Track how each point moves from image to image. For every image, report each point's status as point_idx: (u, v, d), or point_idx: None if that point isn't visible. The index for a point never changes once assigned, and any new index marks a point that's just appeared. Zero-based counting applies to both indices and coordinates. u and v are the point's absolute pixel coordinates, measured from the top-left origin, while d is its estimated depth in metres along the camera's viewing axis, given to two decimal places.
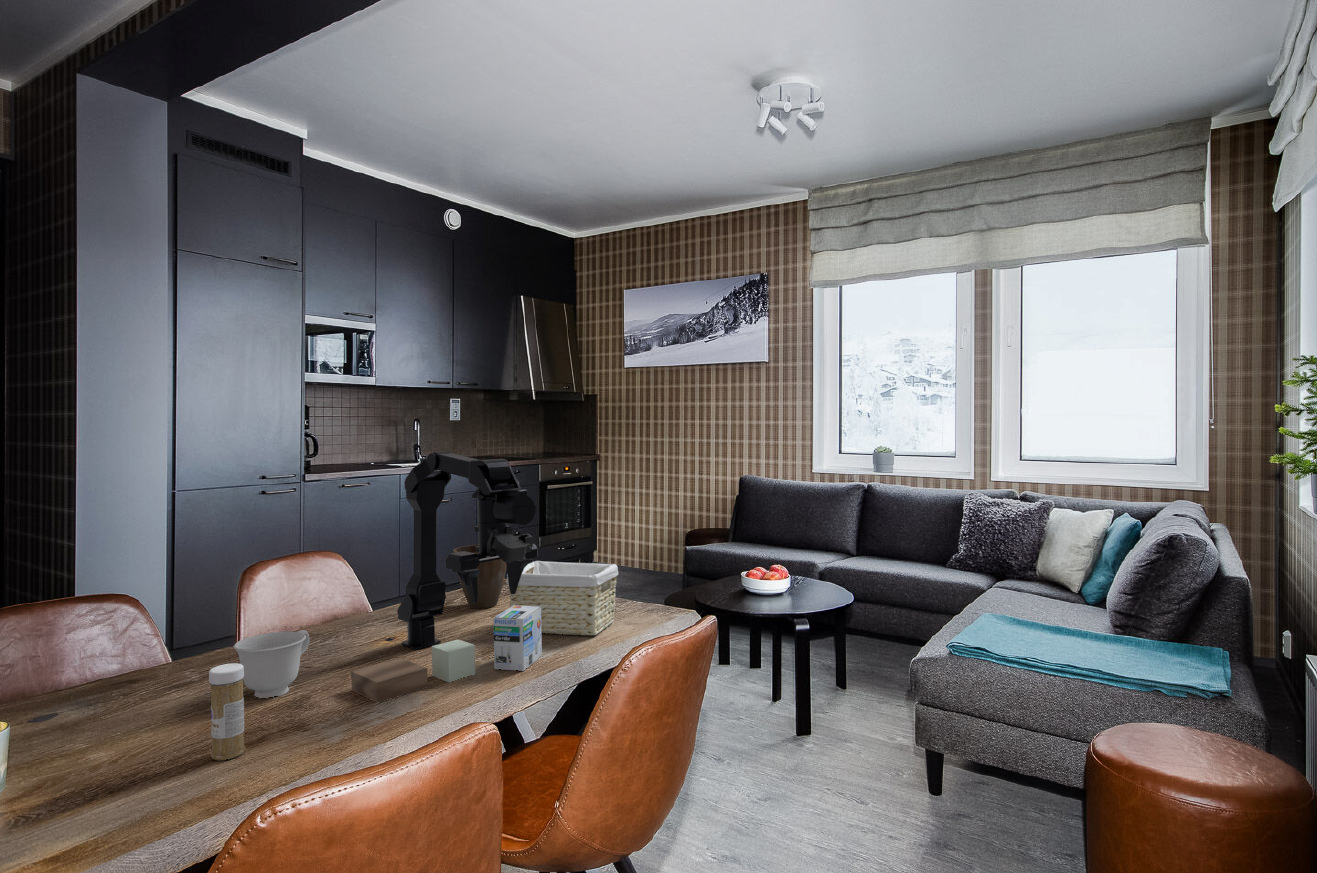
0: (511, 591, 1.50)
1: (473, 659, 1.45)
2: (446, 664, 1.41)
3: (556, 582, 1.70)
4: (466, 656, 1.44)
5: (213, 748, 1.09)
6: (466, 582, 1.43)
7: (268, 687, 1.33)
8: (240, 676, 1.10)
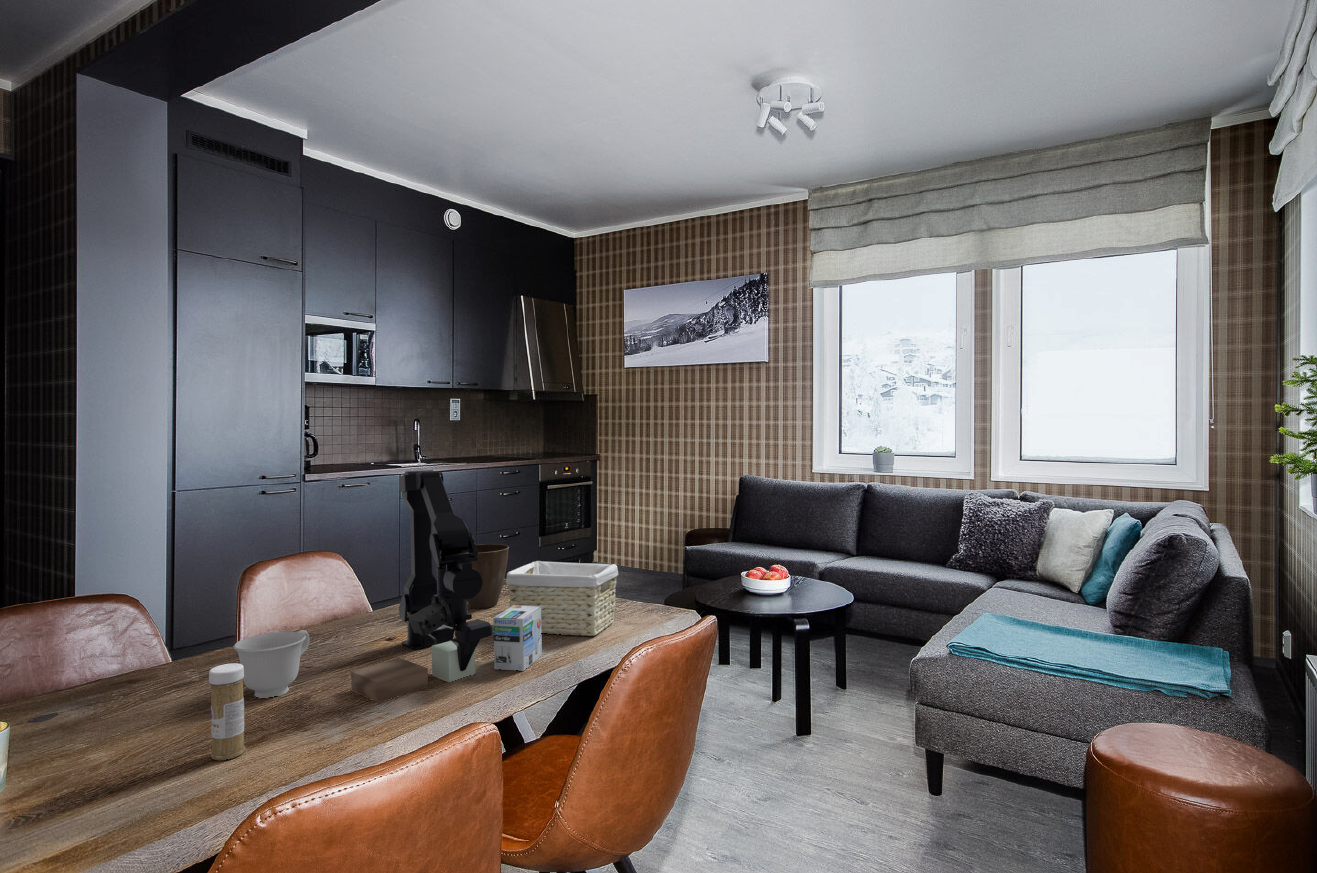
0: None
1: (473, 658, 1.45)
2: (446, 664, 1.41)
3: (556, 582, 1.70)
4: None
5: (213, 748, 1.09)
6: None
7: (268, 687, 1.33)
8: (240, 676, 1.10)
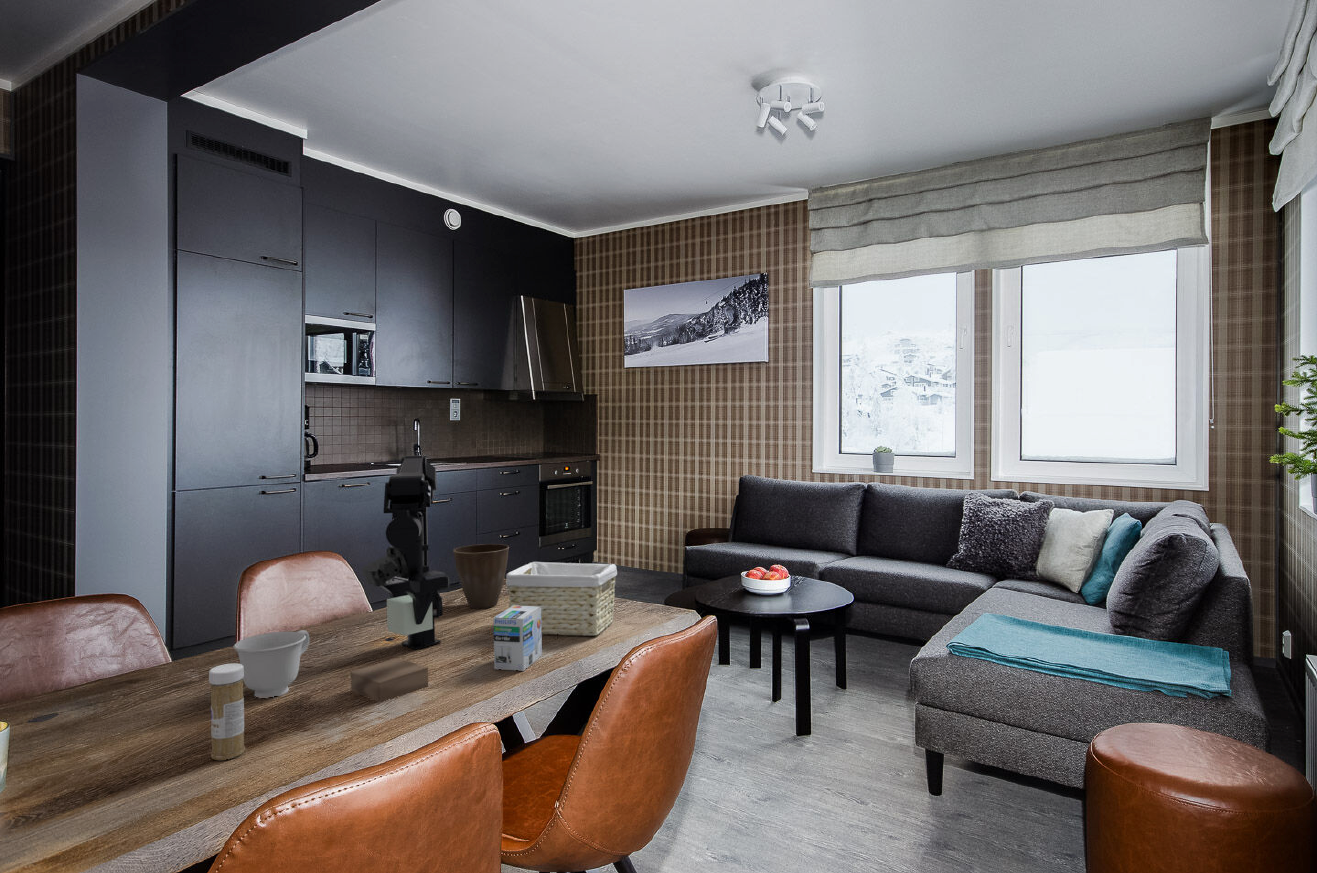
0: None
1: (430, 612, 1.40)
2: (401, 616, 1.36)
3: (557, 582, 1.69)
4: None
5: (213, 748, 1.09)
6: None
7: (268, 687, 1.33)
8: (240, 676, 1.10)
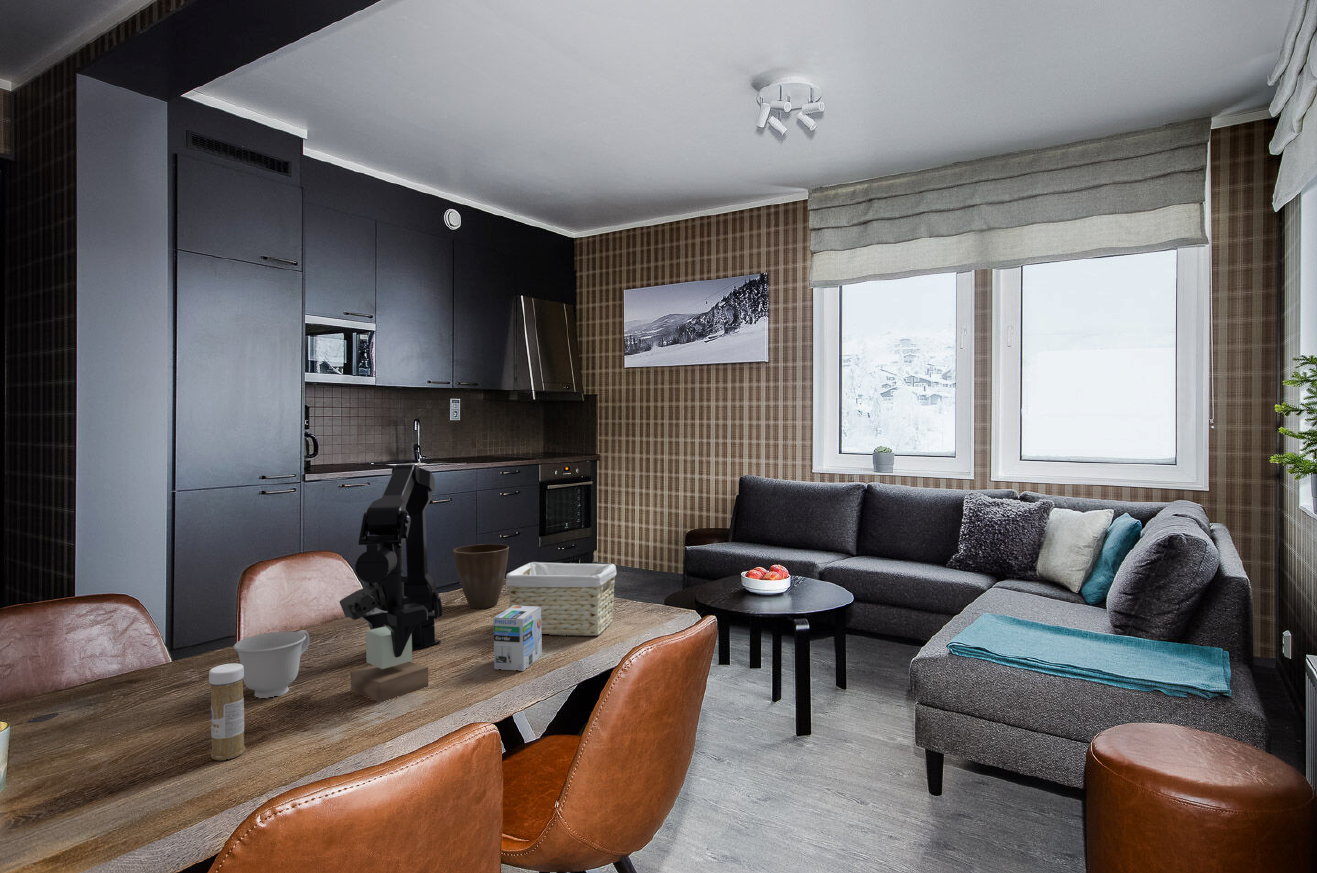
0: None
1: (409, 644, 1.38)
2: (379, 649, 1.34)
3: (558, 583, 1.69)
4: None
5: (213, 748, 1.09)
6: None
7: (268, 687, 1.33)
8: (240, 676, 1.10)
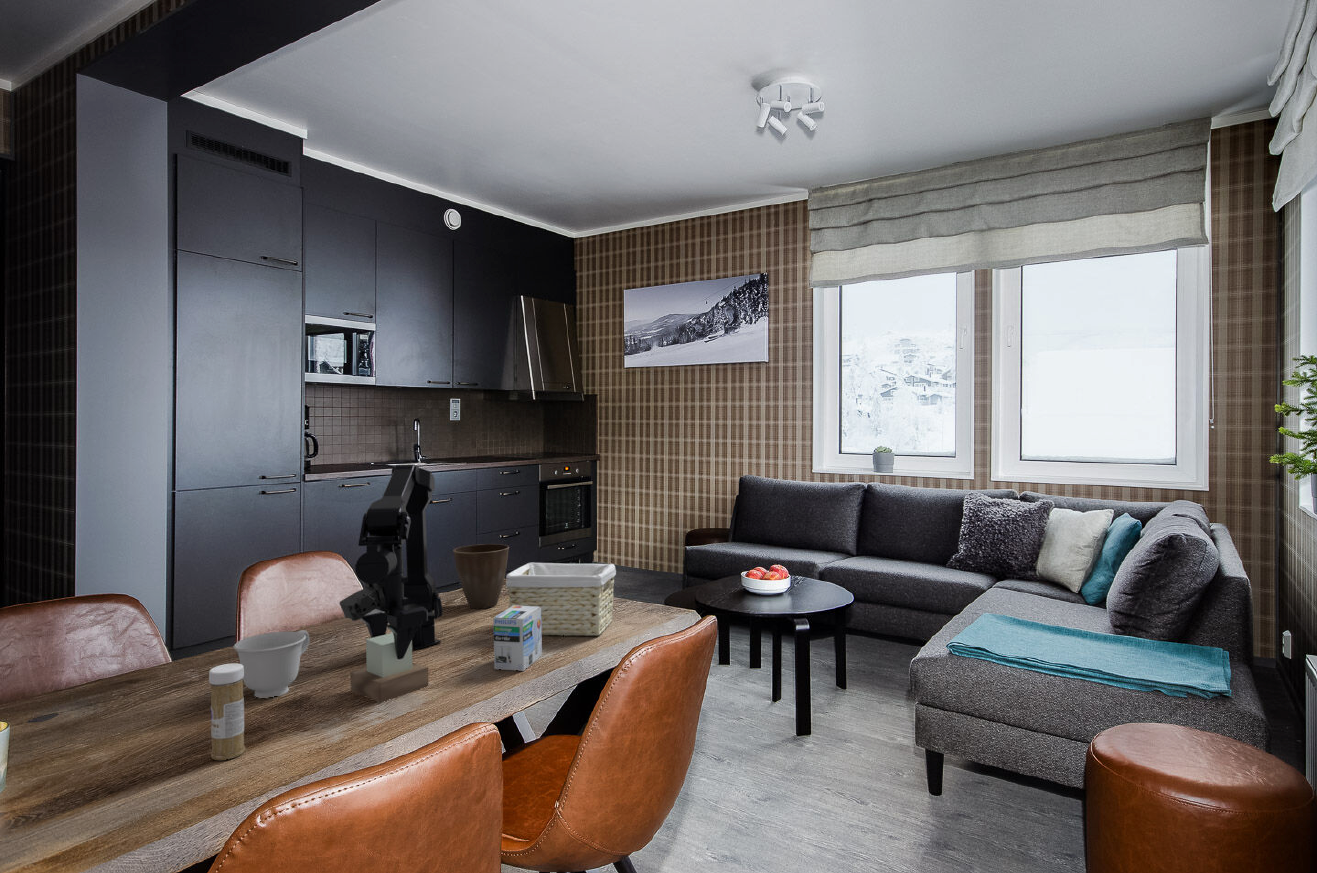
0: None
1: (410, 653, 1.38)
2: (380, 658, 1.34)
3: (559, 583, 1.69)
4: None
5: (213, 748, 1.09)
6: None
7: (268, 687, 1.33)
8: (240, 676, 1.10)
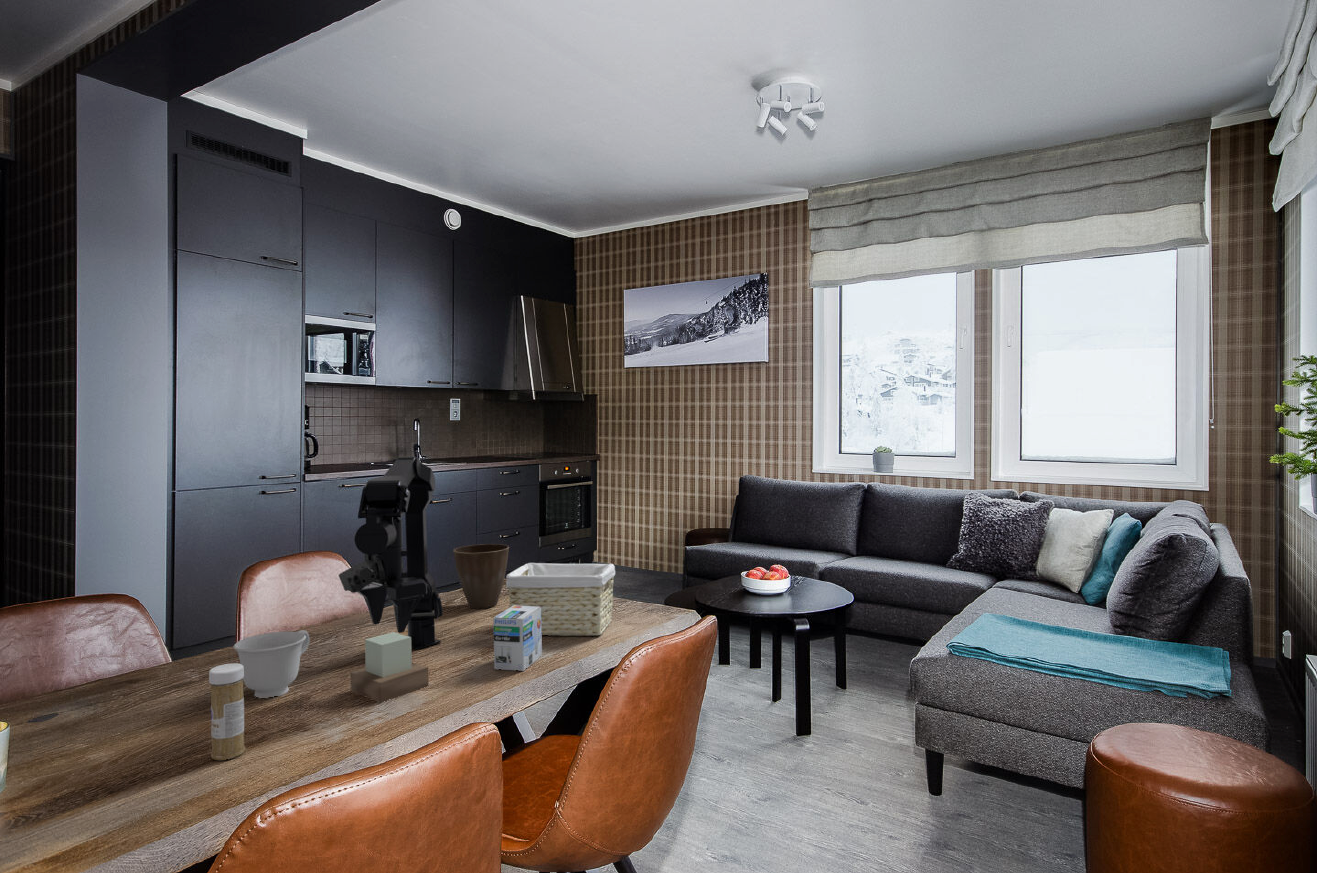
0: None
1: (409, 652, 1.38)
2: (379, 658, 1.34)
3: (560, 583, 1.69)
4: (401, 649, 1.37)
5: (213, 748, 1.09)
6: None
7: (268, 687, 1.33)
8: (240, 676, 1.10)
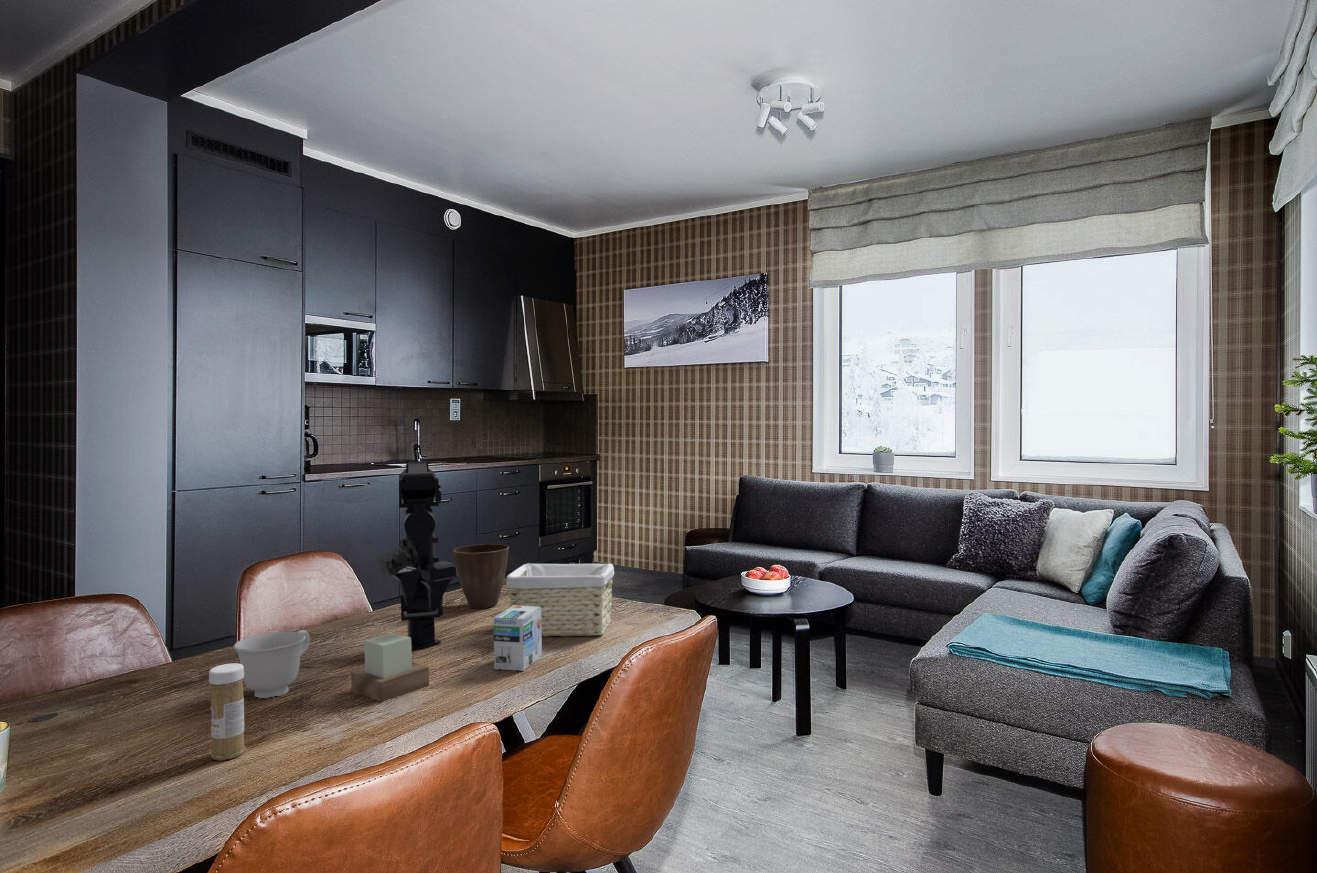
0: None
1: (409, 652, 1.38)
2: (380, 658, 1.34)
3: (562, 583, 1.69)
4: (402, 649, 1.36)
5: (213, 748, 1.09)
6: None
7: (268, 687, 1.33)
8: (240, 676, 1.10)
